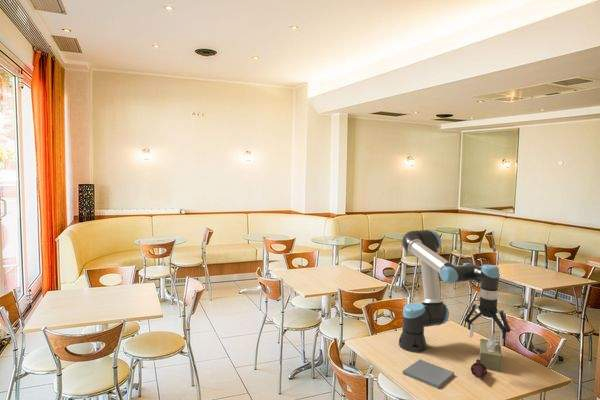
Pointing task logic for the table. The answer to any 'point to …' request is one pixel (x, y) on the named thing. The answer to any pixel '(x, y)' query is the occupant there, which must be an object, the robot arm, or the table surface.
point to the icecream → (478, 369)
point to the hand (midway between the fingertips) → (486, 340)
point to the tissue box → (491, 353)
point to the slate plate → (428, 373)
